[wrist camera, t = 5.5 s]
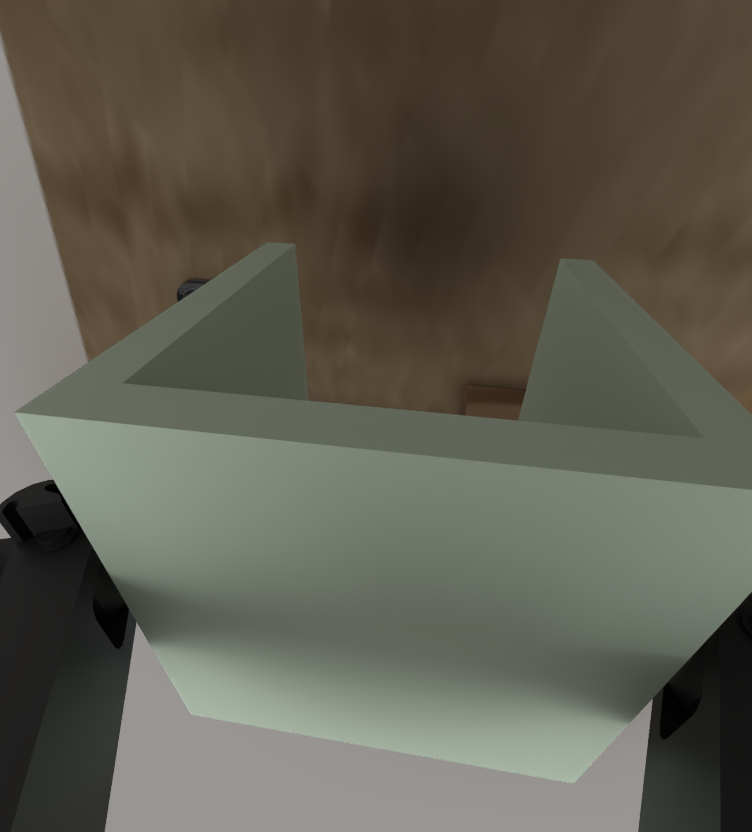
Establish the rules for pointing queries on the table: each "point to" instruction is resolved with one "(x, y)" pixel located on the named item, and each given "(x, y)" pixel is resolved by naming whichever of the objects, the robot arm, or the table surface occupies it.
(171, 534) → the sage cover
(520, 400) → the walnut block
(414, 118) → the table surface
